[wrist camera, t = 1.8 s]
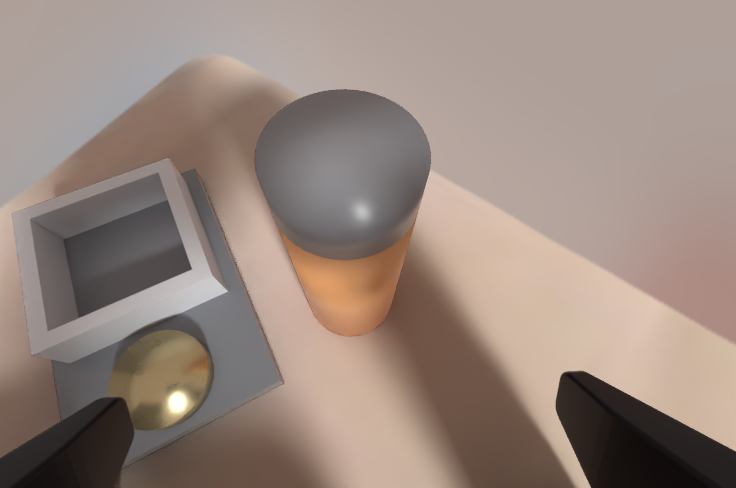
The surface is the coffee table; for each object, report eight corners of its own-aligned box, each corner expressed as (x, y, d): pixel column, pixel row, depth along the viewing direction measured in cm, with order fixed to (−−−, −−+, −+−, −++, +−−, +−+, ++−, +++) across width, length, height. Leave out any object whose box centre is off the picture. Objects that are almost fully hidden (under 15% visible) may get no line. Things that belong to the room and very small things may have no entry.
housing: (284, 383, 20) (269, 375, 17) (89, 486, 18) (27, 501, 14) (201, 179, 25) (178, 143, 22) (46, 238, 23) (-7, 207, 20)
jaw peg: (398, 330, 21) (448, 218, 10) (312, 341, 21) (254, 239, 9) (385, 252, 23) (412, 83, 12) (306, 261, 23) (254, 95, 11)
